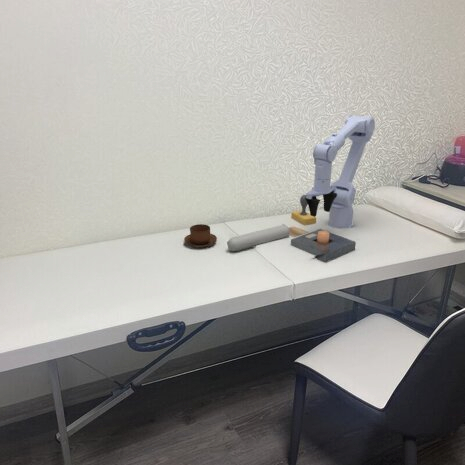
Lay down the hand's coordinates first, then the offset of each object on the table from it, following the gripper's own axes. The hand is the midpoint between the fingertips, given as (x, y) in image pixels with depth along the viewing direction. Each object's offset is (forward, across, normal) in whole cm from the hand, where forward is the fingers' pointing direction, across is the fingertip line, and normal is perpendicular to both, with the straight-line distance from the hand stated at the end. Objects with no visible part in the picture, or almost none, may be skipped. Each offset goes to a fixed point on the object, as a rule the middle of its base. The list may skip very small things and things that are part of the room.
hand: (320, 213), depth 161 cm
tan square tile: (+9, +5, -8) cm, 13 cm away
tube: (+7, +22, -12) cm, 26 cm away
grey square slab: (+9, +7, +8) cm, 14 cm away
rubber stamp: (+10, -7, -14) cm, 18 cm away
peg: (+9, +7, +8) cm, 14 cm away
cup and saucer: (+10, +38, -24) cm, 46 cm away
